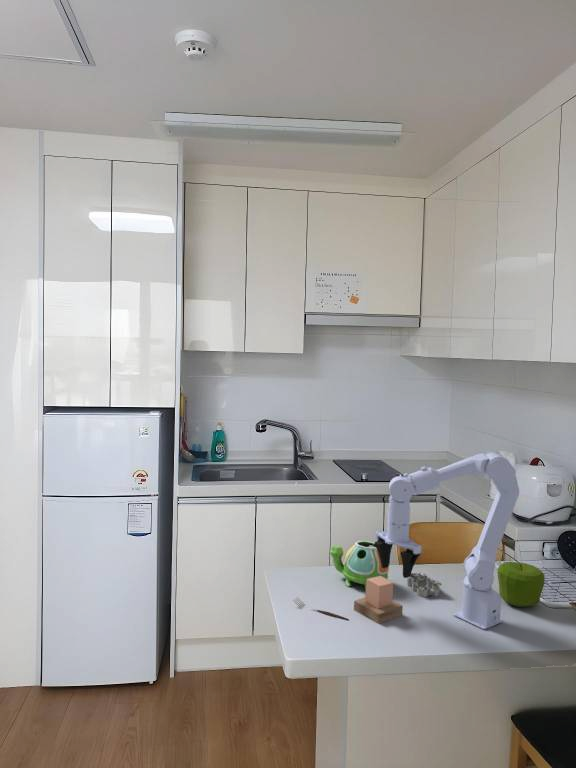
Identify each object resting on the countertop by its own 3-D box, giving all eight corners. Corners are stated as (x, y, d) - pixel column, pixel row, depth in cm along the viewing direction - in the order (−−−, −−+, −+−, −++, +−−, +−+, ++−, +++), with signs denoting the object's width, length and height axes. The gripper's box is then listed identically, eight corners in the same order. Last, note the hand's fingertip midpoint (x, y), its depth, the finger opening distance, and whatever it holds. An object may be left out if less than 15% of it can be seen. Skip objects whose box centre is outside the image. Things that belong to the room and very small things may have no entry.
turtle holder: (338, 568, 185) (340, 531, 184) (393, 581, 177) (395, 543, 176) (321, 581, 174) (323, 542, 174) (379, 596, 166) (381, 555, 165)
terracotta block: (391, 604, 155) (393, 582, 154) (377, 608, 152) (379, 586, 151) (378, 597, 159) (380, 575, 158) (364, 600, 156) (366, 579, 156)
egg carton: (442, 597, 167) (443, 584, 167) (417, 598, 166) (418, 584, 166) (427, 582, 178) (428, 569, 177) (403, 583, 176) (404, 569, 176)
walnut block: (402, 616, 155) (402, 605, 154) (378, 625, 149) (378, 614, 149) (377, 603, 162) (377, 593, 162) (353, 611, 156) (354, 600, 156)
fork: (346, 624, 149) (347, 616, 149) (292, 607, 157) (292, 600, 157) (351, 619, 151) (351, 612, 151) (297, 603, 159) (297, 596, 159)
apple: (517, 615, 158) (520, 574, 157) (486, 596, 169) (488, 558, 168) (552, 609, 162) (555, 569, 161) (519, 591, 174) (522, 554, 173)
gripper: (368, 517, 159) (365, 566, 160) (409, 532, 148) (406, 584, 149) (386, 513, 164) (383, 561, 165) (427, 527, 152) (424, 578, 153)
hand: (395, 572), depth 157 cm, fingers open, 7 cm apart
